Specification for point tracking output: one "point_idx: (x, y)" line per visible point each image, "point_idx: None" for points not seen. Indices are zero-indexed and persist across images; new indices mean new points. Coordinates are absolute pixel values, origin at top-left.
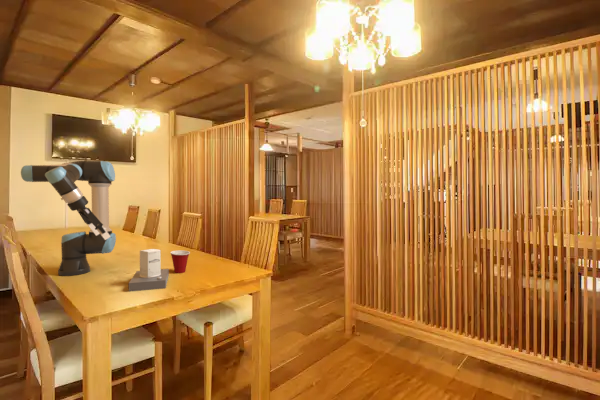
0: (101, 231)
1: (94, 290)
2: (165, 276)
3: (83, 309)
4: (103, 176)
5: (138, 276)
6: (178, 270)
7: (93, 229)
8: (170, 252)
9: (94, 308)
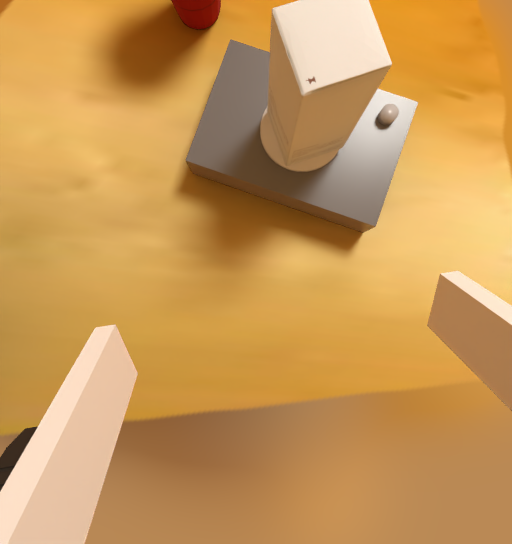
0: None
1: (272, 327)
2: None
3: (476, 378)
4: None
5: (290, 174)
6: (216, 9)
7: (102, 446)
8: None
9: None
